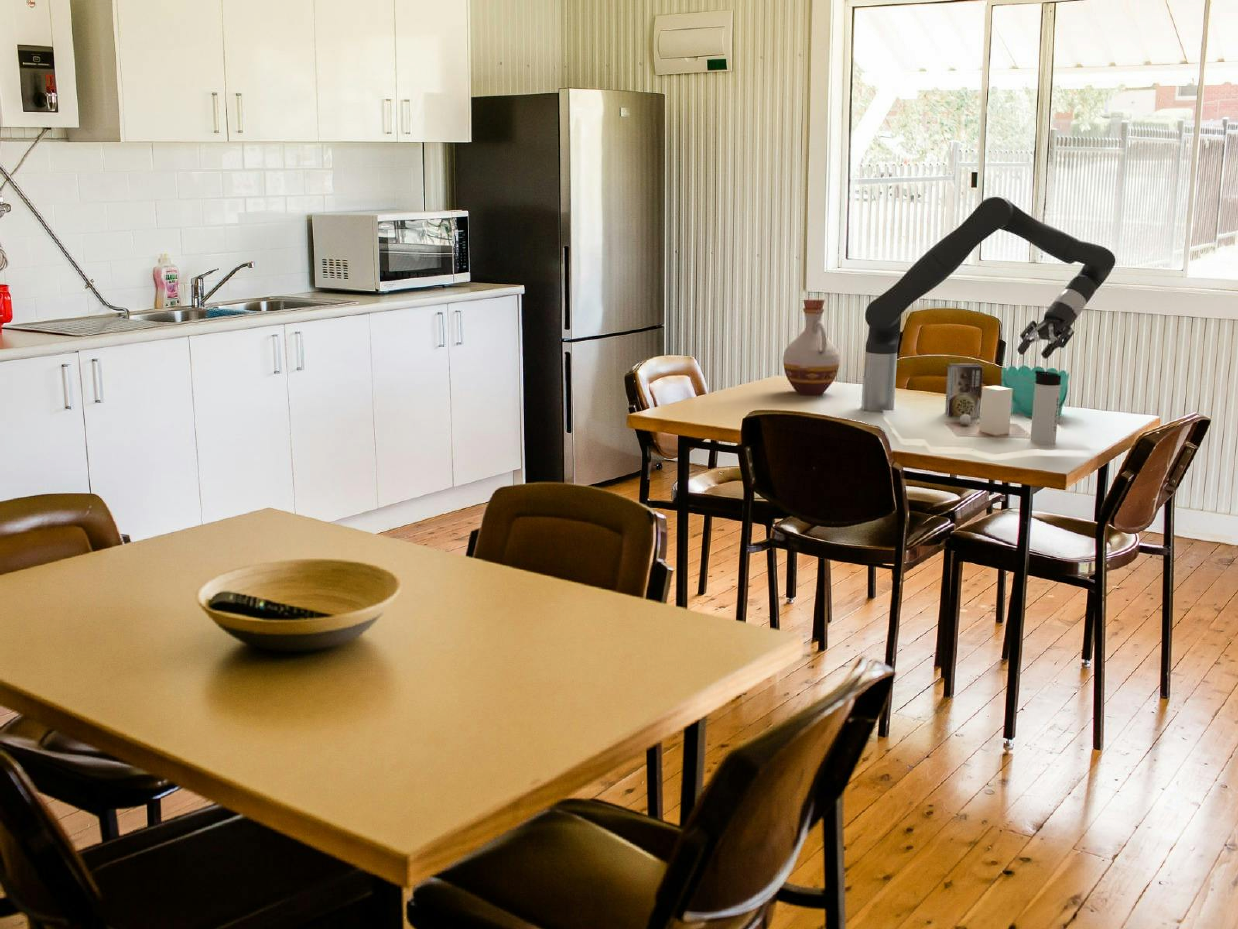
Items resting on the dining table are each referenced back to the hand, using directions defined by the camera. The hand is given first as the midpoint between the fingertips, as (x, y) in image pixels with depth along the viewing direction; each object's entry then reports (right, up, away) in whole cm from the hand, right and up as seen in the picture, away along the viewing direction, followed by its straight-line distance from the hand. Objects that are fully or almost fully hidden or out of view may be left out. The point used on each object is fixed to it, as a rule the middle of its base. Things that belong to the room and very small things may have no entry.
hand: (1031, 354), depth 349 cm
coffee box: (-13, -17, +23) cm, 31 cm away
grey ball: (-16, -19, +8) cm, 26 cm away
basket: (+11, -15, +35) cm, 40 cm away
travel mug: (-1, -25, -12) cm, 28 cm away
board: (-11, -22, +2) cm, 24 cm away
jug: (-50, -7, +64) cm, 81 cm away
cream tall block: (-10, -21, -1) cm, 23 cm away
